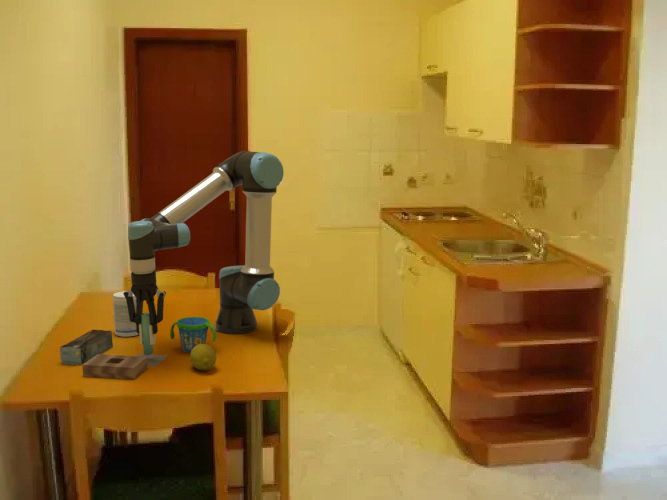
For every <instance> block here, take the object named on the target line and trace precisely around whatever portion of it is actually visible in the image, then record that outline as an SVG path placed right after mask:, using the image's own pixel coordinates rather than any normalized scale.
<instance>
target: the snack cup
mask: <svg viewBox="0 0 667 500" xmlns="http://www.w3.org/2000/svg"><path fill="white" fill-rule="evenodd" d="M175 326H177V329H178V334H179V340H180V345H181V349H182V351H183V352H184V353H189V354H191V351H192V349H193V348H194V347H195V346H197V345H199V344H207V338H208V330H209V328H210V330H211V332H212V333H213V338H212V343H213V344H214V343H215V342H216V340H217V337H218V336H217V330H216V326H214V325H213V324H212V323H211V322H210V320H209V319H208V318H206V317H202V316H187V317H183V318H182V317H181V318H180V319H178V320H176V321H175V322H174V323H173V324H172V325H171V326H170V331H169V335H170V339H171V340H174V339H175V335H176V334H175V331H174V330H175Z"/></svg>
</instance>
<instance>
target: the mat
mask: <svg viewBox="0 0 667 500" xmlns="http://www.w3.org/2000/svg"><path fill="white" fill-rule="evenodd" d="M136 356H140V357H147V367H157V366H159V364H161V363H162V362H163V361H164V360H165V359H166V358H167V357H168V355H161V354H160V355H157V354H151V355H144V353H143V354H141V353H137V354H136Z"/></svg>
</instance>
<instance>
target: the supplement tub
mask: <svg viewBox="0 0 667 500" xmlns="http://www.w3.org/2000/svg"><path fill="white" fill-rule="evenodd" d="M126 291H127V290H123V291H119V292H115V293H113V295H112V306H113V323H114V334H115V335H116V336H118V337H122V338H128V337H135V336H138V335H139V334H138V333H137V329H136V323H134V322H130V318H129V313H128V307H127V301H126V298H125V296H124V294H123V293H124V292H126ZM133 300H134V306H135V312H136V305H137V303H136V297H135V295H134V294H133ZM139 336H140V335H139Z"/></svg>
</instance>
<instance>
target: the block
mask: <svg viewBox="0 0 667 500" xmlns="http://www.w3.org/2000/svg"><path fill="white" fill-rule="evenodd" d="M147 369H148V366H147V357H140V356H137V355H120V354H103V353H102V354H97V355H96V356H94V357H93V358H91V359H90V360H89V361H87V362H86V363H84V364H83V365H82V377H86V378H103V379H117V380H118V379H119V380H133V381H134V380H136V378H138V377H140V376H141V374H143V373H144V371H146V370H147Z"/></svg>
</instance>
